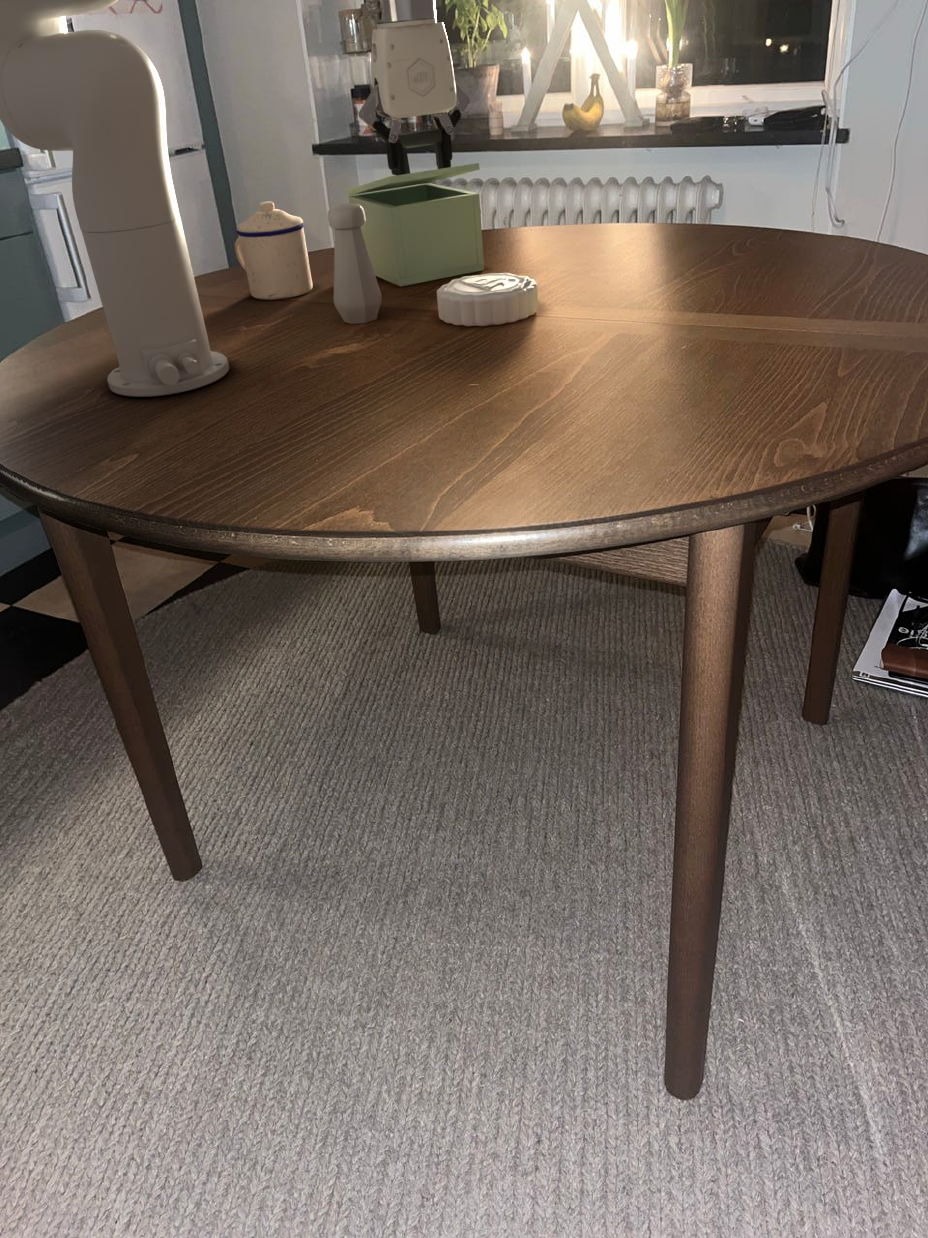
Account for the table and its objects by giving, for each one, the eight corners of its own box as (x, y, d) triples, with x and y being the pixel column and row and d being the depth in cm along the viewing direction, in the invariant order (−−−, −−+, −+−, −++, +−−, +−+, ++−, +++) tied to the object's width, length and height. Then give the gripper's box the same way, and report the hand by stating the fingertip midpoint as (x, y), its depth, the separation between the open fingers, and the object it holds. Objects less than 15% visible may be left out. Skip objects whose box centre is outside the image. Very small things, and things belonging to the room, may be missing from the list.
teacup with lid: (328, 286, 132) (314, 196, 125) (283, 302, 126) (266, 209, 119) (267, 281, 138) (251, 195, 132) (221, 296, 132) (202, 207, 126)
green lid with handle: (479, 169, 125) (473, 120, 123) (390, 183, 121) (381, 133, 118) (430, 182, 139) (423, 139, 137) (348, 195, 135) (340, 150, 133)
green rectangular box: (484, 269, 132) (479, 193, 127) (400, 286, 128) (391, 207, 123) (436, 253, 145) (429, 182, 140) (358, 268, 140) (348, 195, 135)
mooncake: (557, 312, 110) (557, 280, 108) (469, 333, 106) (467, 300, 104) (504, 294, 119) (502, 265, 118) (421, 313, 115) (417, 283, 113)
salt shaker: (329, 325, 114) (311, 210, 107) (347, 312, 118) (331, 201, 111) (374, 325, 112) (358, 208, 105) (390, 312, 117) (377, 199, 110)
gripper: (351, 17, 111) (373, 183, 120) (480, 4, 117) (491, 163, 126) (330, 20, 116) (351, 178, 126) (454, 7, 122) (465, 159, 132)
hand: (421, 169), depth 126 cm, fingers closed on green lid with handle, 6 cm apart
